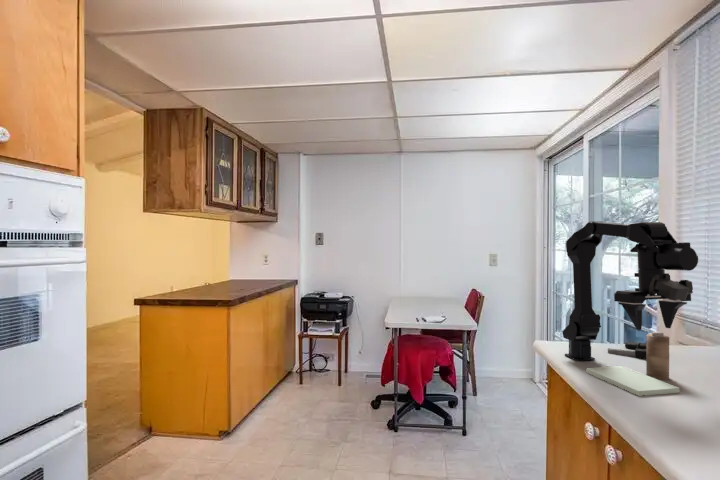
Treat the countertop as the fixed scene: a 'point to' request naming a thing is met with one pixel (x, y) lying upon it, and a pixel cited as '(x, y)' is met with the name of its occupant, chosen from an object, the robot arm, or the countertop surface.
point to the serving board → (632, 380)
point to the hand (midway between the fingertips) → (653, 329)
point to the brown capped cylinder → (657, 356)
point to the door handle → (638, 353)
